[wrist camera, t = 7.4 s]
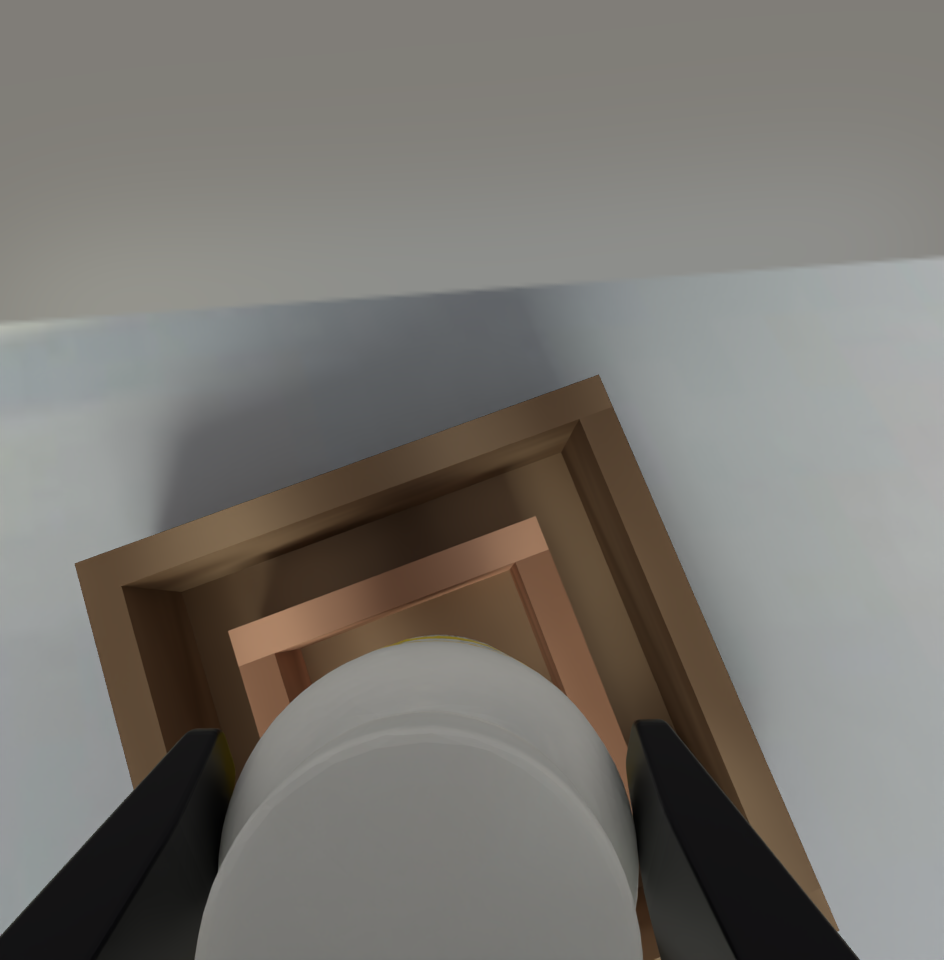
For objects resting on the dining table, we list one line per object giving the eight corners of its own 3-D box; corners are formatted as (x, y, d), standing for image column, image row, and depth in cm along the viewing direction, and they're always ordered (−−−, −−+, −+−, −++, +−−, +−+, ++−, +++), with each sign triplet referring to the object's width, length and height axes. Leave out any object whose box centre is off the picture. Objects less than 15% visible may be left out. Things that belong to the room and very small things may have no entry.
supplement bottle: (380, 938, 15) (236, 1503, 5) (282, 699, 16) (9, 808, 6) (604, 818, 15) (842, 1129, 6) (496, 594, 16) (548, 547, 7)
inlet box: (289, 1066, 20) (238, 1191, 16) (151, 574, 23) (74, 563, 18) (762, 866, 21) (839, 930, 17) (575, 419, 24) (598, 374, 19)
